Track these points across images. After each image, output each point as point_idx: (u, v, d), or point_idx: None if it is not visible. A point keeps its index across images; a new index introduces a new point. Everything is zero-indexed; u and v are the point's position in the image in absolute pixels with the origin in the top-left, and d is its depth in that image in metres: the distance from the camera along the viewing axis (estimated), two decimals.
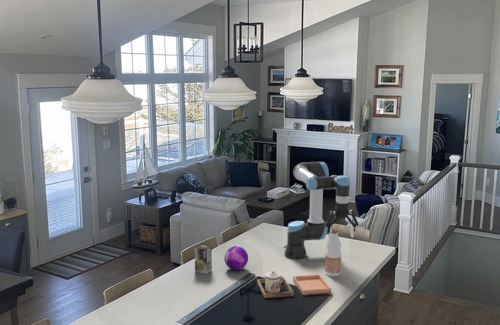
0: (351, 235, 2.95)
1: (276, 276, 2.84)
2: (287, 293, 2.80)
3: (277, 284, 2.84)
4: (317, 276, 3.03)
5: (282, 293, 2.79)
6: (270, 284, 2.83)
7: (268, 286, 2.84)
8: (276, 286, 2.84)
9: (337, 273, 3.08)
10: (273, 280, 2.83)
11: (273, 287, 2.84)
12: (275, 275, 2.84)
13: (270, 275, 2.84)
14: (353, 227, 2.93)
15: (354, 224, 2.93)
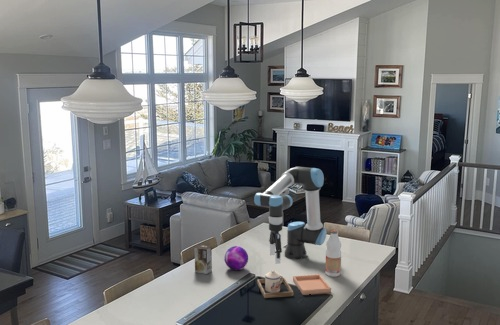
0: None
1: (276, 276, 2.84)
2: (287, 293, 2.80)
3: (277, 284, 2.84)
4: (317, 276, 3.03)
5: (282, 293, 2.79)
6: (270, 284, 2.83)
7: (268, 286, 2.84)
8: (276, 286, 2.84)
9: (337, 273, 3.08)
10: (273, 281, 2.83)
11: (273, 287, 2.84)
12: (275, 275, 2.84)
13: (270, 275, 2.84)
14: (275, 252, 2.78)
15: (276, 250, 2.77)
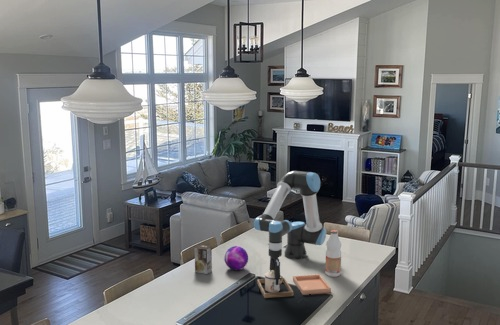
0: None
1: None
2: (287, 293, 2.80)
3: None
4: (317, 276, 3.03)
5: (282, 293, 2.79)
6: (270, 284, 2.84)
7: (268, 286, 2.85)
8: None
9: (337, 273, 3.08)
10: (272, 280, 2.83)
11: (273, 287, 2.84)
12: None
13: (270, 275, 2.84)
14: None
15: (275, 277, 2.81)
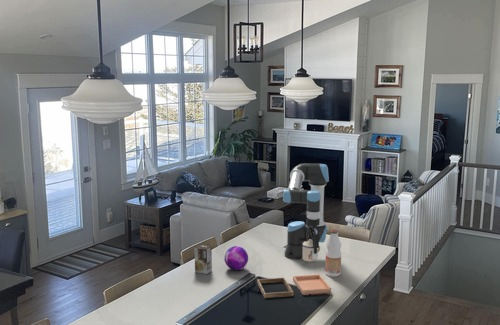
0: None
1: None
2: (287, 293, 2.80)
3: None
4: (317, 276, 3.03)
5: (282, 293, 2.79)
6: (308, 253, 2.85)
7: (306, 255, 2.86)
8: None
9: (337, 273, 3.08)
10: (310, 249, 2.85)
11: (311, 256, 2.85)
12: None
13: (308, 244, 2.86)
14: (312, 248, 2.84)
15: (313, 245, 2.83)
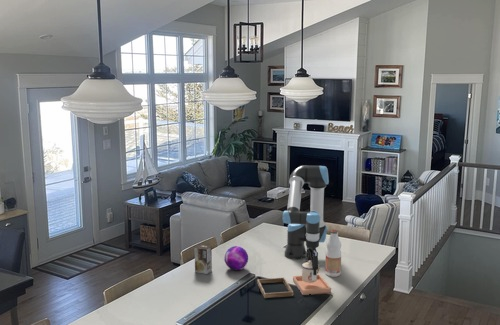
0: None
1: None
2: (287, 293, 2.80)
3: None
4: (317, 276, 3.03)
5: (282, 293, 2.79)
6: (307, 274, 2.87)
7: (305, 276, 2.88)
8: None
9: (337, 273, 3.08)
10: (310, 270, 2.87)
11: (310, 277, 2.87)
12: None
13: (307, 265, 2.88)
14: (312, 269, 2.86)
15: (312, 267, 2.85)
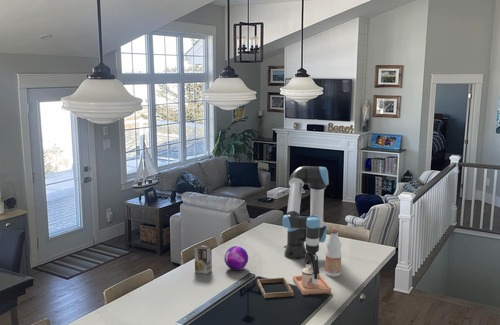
0: None
1: None
2: (287, 293, 2.80)
3: None
4: None
5: (282, 293, 2.79)
6: (307, 279, 2.88)
7: (305, 281, 2.89)
8: None
9: (337, 273, 3.08)
10: (310, 276, 2.87)
11: (310, 283, 2.88)
12: (312, 271, 2.89)
13: (307, 271, 2.89)
14: (313, 273, 2.84)
15: (313, 271, 2.83)
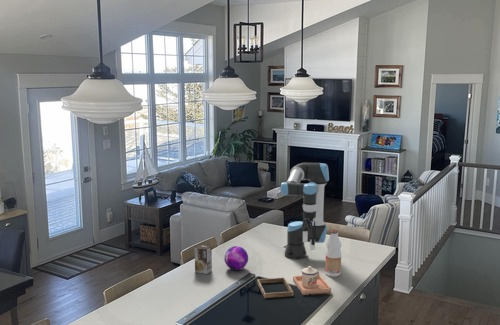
0: None
1: (313, 272, 2.88)
2: (287, 293, 2.80)
3: (314, 280, 2.88)
4: None
5: (282, 293, 2.79)
6: (307, 279, 2.88)
7: (305, 281, 2.89)
8: (313, 281, 2.88)
9: (337, 273, 3.08)
10: (310, 276, 2.87)
11: (310, 283, 2.88)
12: (312, 271, 2.89)
13: (307, 271, 2.89)
14: None
15: (311, 237, 2.83)
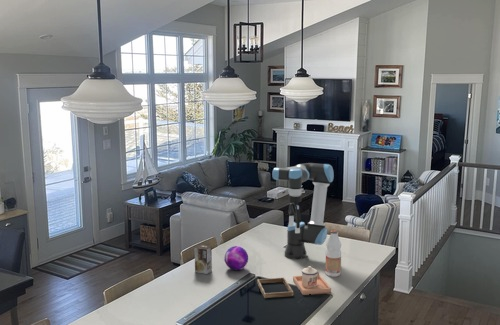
0: None
1: (313, 272, 2.88)
2: (287, 293, 2.80)
3: (314, 280, 2.88)
4: None
5: (282, 293, 2.79)
6: (307, 279, 2.88)
7: (305, 281, 2.89)
8: (313, 281, 2.88)
9: (337, 273, 3.08)
10: (310, 276, 2.87)
11: (310, 283, 2.88)
12: (312, 271, 2.89)
13: (307, 271, 2.89)
14: (295, 223, 2.92)
15: (296, 220, 2.91)
